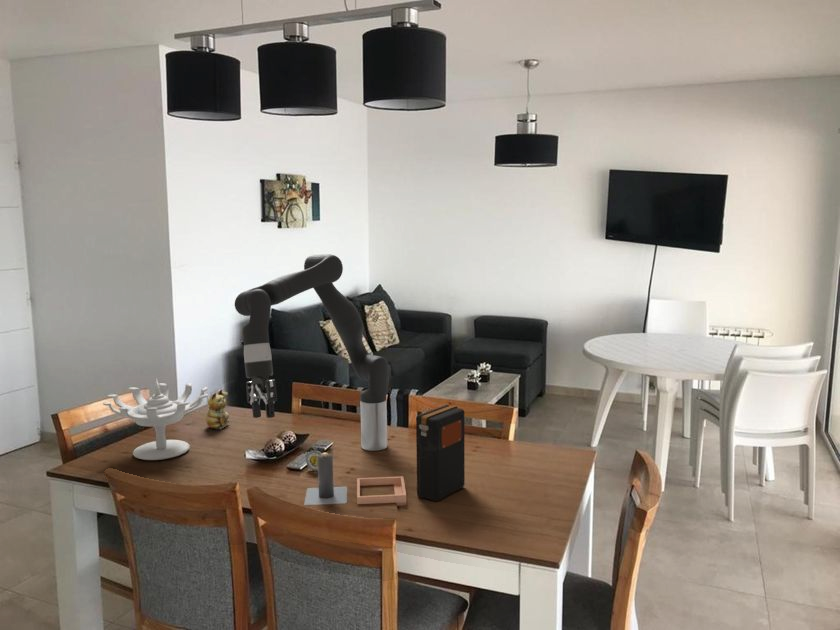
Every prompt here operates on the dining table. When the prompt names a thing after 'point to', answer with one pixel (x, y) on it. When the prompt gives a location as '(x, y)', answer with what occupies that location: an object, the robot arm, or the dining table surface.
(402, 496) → the bin
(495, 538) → the dining table surface
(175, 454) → the candelabra
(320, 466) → the battery
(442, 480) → the black case
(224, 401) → the decorative figurine
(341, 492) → the pad
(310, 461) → the pocket watch
